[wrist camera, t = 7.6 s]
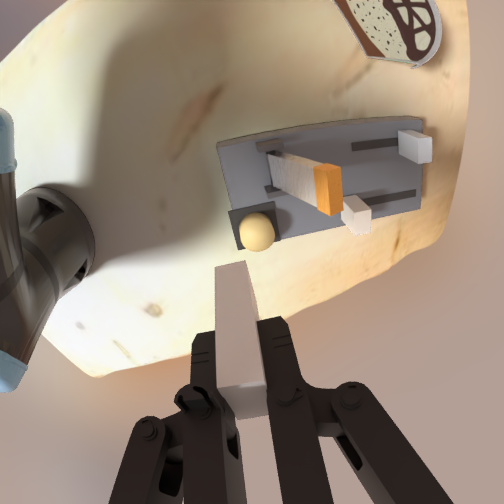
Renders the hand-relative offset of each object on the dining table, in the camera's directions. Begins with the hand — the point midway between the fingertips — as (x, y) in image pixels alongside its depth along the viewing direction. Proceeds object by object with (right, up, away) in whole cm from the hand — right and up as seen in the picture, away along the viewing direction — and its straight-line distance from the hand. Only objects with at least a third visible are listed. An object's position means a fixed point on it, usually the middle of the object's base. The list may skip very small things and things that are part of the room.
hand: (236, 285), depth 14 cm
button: (+1, +5, +18) cm, 19 cm away
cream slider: (+12, +7, +18) cm, 22 cm away
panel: (+10, +11, +18) cm, 24 cm away
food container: (+14, +29, +8) cm, 33 cm away
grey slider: (+18, +14, +14) cm, 27 cm away
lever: (+3, +10, +14) cm, 17 cm away
